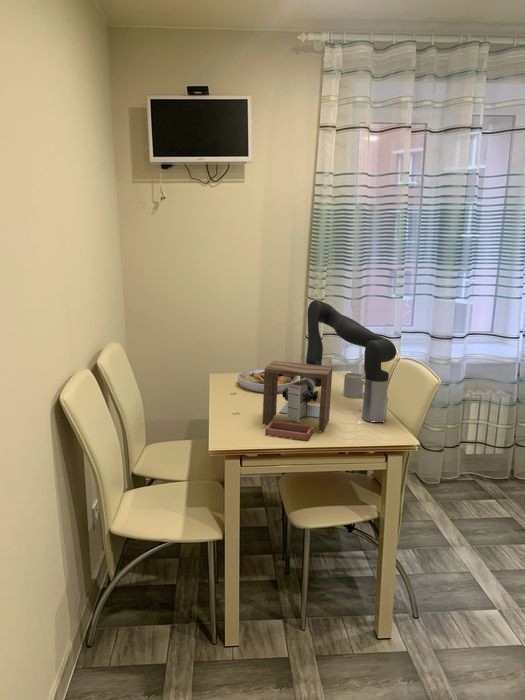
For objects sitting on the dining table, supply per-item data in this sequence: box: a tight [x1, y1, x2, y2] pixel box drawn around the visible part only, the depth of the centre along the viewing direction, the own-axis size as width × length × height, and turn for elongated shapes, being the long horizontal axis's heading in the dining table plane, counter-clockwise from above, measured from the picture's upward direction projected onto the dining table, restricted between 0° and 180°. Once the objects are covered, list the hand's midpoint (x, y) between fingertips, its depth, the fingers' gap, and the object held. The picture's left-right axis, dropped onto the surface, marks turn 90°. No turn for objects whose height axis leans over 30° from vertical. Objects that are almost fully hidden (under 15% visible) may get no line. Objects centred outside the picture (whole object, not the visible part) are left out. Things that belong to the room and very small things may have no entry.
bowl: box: [237, 368, 300, 394], centre depth 256 cm, size 30×30×8 cm
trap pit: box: [264, 420, 314, 442], centre depth 194 cm, size 9×16×2 cm, turn 74°
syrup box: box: [287, 381, 308, 423], centre depth 204 cm, size 6×6×14 cm
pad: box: [278, 402, 320, 419], centre depth 220 cm, size 14×18×1 cm
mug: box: [343, 372, 365, 399], centre depth 244 cm, size 11×10×10 cm
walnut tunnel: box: [262, 360, 334, 433], centre depth 204 cm, size 14×24×22 cm, turn 74°
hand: (296, 399), depth 202 cm, fingers closed on syrup box, 7 cm apart
